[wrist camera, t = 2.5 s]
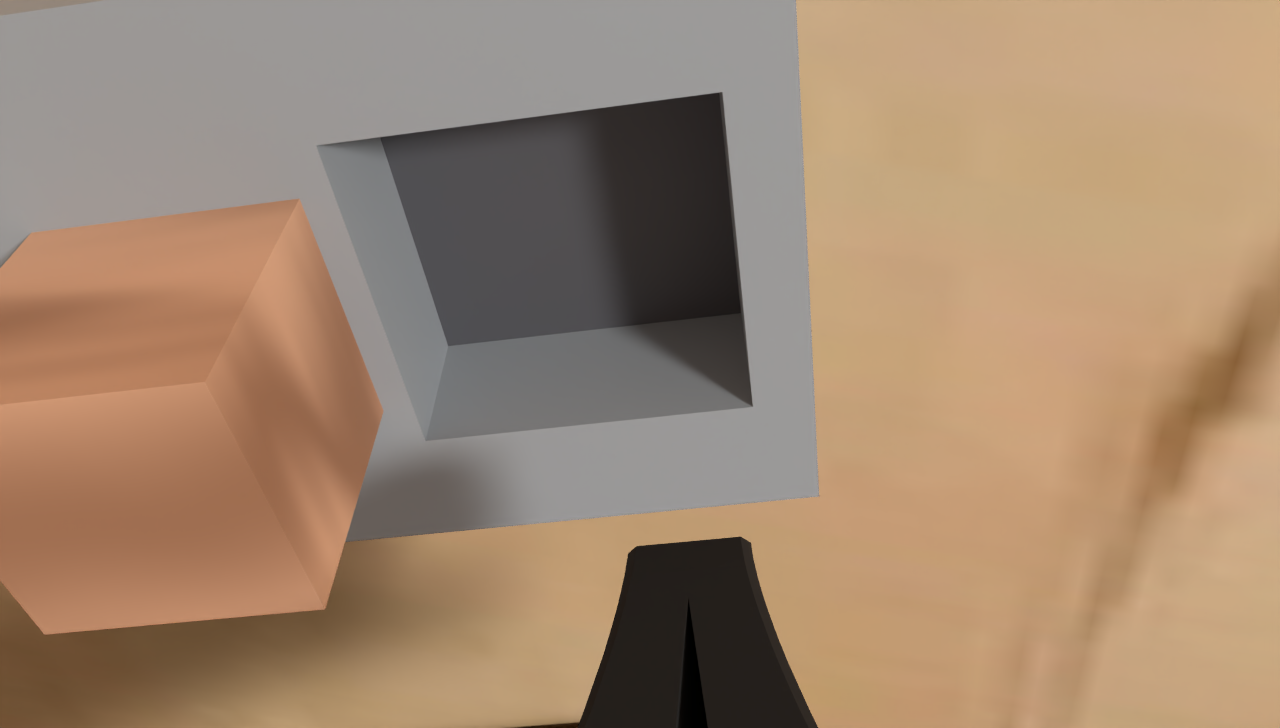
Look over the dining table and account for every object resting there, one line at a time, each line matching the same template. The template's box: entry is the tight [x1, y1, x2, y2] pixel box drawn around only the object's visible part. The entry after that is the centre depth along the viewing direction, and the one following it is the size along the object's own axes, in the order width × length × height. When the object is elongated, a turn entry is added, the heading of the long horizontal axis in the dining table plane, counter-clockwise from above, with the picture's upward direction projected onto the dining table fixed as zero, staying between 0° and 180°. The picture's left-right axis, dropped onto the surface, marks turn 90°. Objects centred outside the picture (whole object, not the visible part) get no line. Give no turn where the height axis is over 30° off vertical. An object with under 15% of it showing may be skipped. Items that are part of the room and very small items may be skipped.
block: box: [0, 199, 383, 635], centre depth 14 cm, size 4×4×4 cm
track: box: [0, 0, 819, 542], centre depth 17 cm, size 10×26×3 cm, turn 98°
